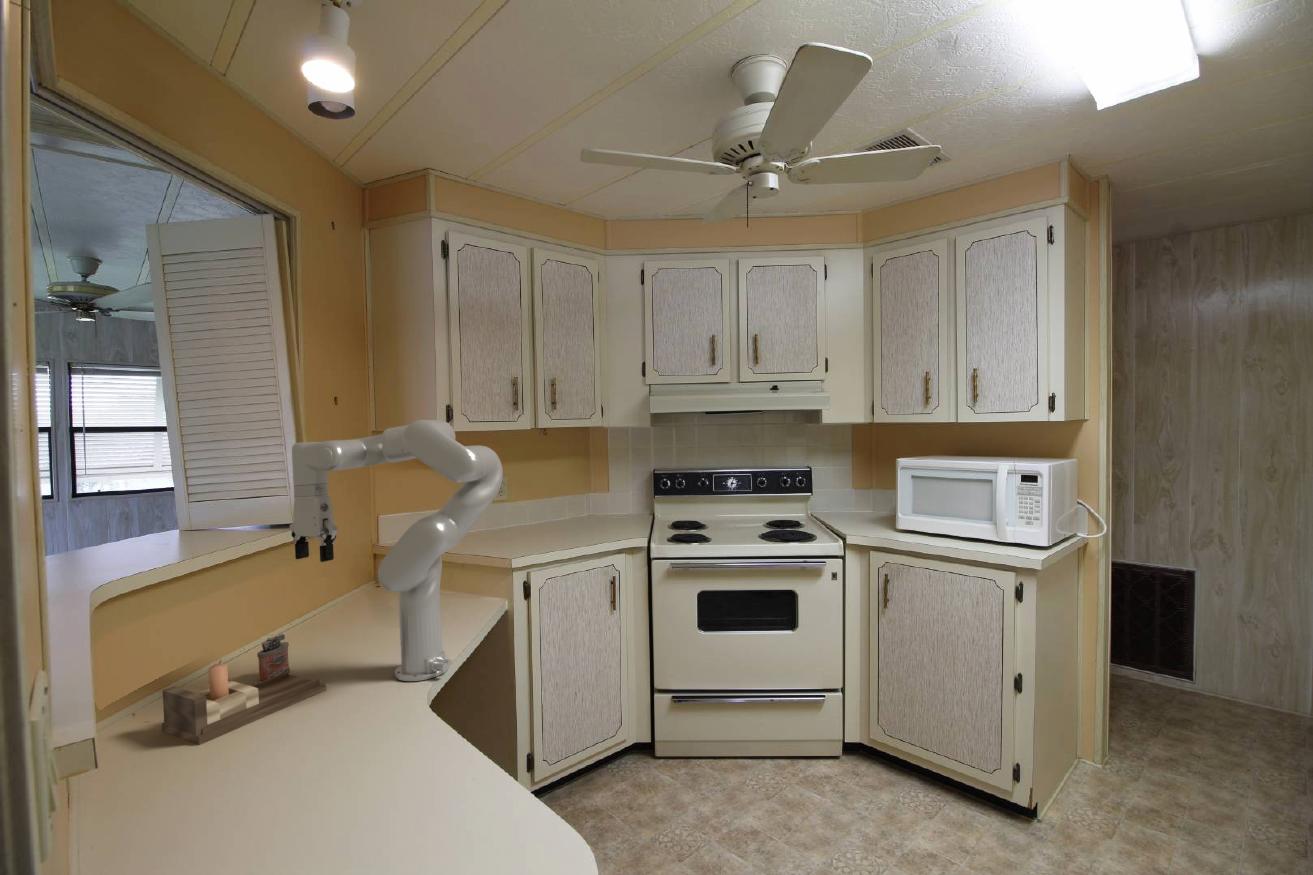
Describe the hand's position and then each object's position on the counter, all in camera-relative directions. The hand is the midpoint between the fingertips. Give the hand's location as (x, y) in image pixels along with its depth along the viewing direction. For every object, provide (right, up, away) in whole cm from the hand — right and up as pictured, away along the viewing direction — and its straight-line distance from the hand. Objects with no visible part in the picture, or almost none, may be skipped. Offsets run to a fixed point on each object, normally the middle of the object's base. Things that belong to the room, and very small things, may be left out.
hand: (314, 559), depth 150 cm
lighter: (-8, -29, -3) cm, 30 cm away
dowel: (-6, -28, -24) cm, 37 cm away
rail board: (-3, -29, -19) cm, 35 cm away
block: (-6, -27, -24) cm, 37 cm away
